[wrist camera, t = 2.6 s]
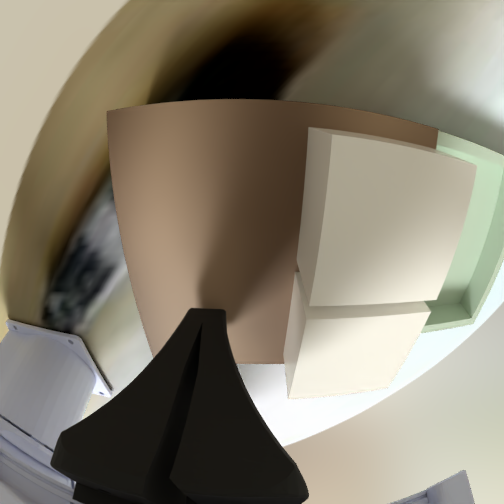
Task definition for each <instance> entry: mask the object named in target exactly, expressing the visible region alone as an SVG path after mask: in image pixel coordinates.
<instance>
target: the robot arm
mask: <svg viewBox="0 0 504 504" xmlns="http://www.w3.org/2000/svg"><path fill="white" fill-rule="evenodd" d="M6 325H7V327H8V329H9V331H8V333H7V334H6V335H5V337H4V338H3V340H2V341H1V343H0V504H301V503H303V502H304V501H305V500H306V499H308V497H309V493H308V489H307V486H306V483H305V481H304V479H303V477H302V475H301V473H300V471H299V469H298V467H297V465H296V463H295V462H294V461H293V460H292V458H291V457H290V456H289V455H288V453H287V452H286V451H285V450H284V448H283V447H282V446H281V445H280V443H279V442H278V441H277V439H276V438H275V436H274V435H273V434H272V432H271V431H270V429H269V428H268V426H267V425H266V423H265V421H264V420H263V418H262V417H261V415H260V413H259V412H258V410H257V408H256V407H255V405H254V403H253V401H252V399H251V397H250V395H249V393H248V391H247V389H246V387H245V385H244V383H243V380H242V378H241V376H240V373H239V371H238V368H237V365H236V363H235V360H234V357H233V353H232V350H231V346H230V343H229V339H228V334H227V318H226V311H225V310H224V309H207V308H190V309H189V310H188V311H187V313H186V315H185V316H184V318H183V319H182V321H181V322H180V324H179V325H178V327H177V328H176V330H175V331H174V333H173V334H172V335H171V337H170V338H169V339H168V341H167V342H166V343H165V345H164V346H163V347H162V349H161V350H160V351H159V352H158V354H157V355H156V356H155V357H154V358H153V360H152V361H151V362H150V363H149V364H148V365H147V367H146V368H145V369H144V370H143V371H142V372H141V373H140V374H139V375H138V376H137V377H136V378H135V379H134V380H133V381H132V382H131V383H130V384H129V385H128V386H127V387H126V388H124V389H123V390H122V391H121V392H120V393H119V394H118V395H116V396H115V397H114V398H113V399H112V400H110V401H109V402H108V403H106V404H105V405H104V406H102V407H101V408H99V409H98V410H97V411H95V412H94V413H92V414H91V415H90V416H88V417H87V418H85V419H83V416H84V413H85V410H86V408H87V405H88V402H89V400H90V397H91V395H92V393H93V394H97V395H101V396H105V397H111V396H112V392H111V390H110V389H109V387H108V386H107V384H106V382H105V381H104V379H103V377H102V376H101V374H100V372H99V370H98V369H97V367H96V365H95V363H94V362H93V360H92V358H91V356H90V354H89V352H88V350H87V349H86V347H85V345H84V343H83V341H82V339H81V338H80V337H78V336H76V335H72V334H67V333H62V332H57V331H53V330H48V329H44V328H40V327H36V326H32V325H28V324H24V323H20V322H17V321H13V320H10V319H8V320H7V321H6ZM82 419H83V420H82ZM389 504H475V503H474V499H473V495H472V492H471V488H470V484H469V481H468V477H467V474H466V471H465V470H462V471H460V472H459V473H457V474H455V475H453V476H451V477H449V478H447V479H445V480H443V481H441V482H439V483H437V484H435V485H433V486H431V487H429V488H427V489H426V490H424V491H421V492H419V493H417V494H414V495H411V496H409V497H406V498H403V499H401V500H398V501H395V502H392V503H389Z"/></svg>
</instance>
